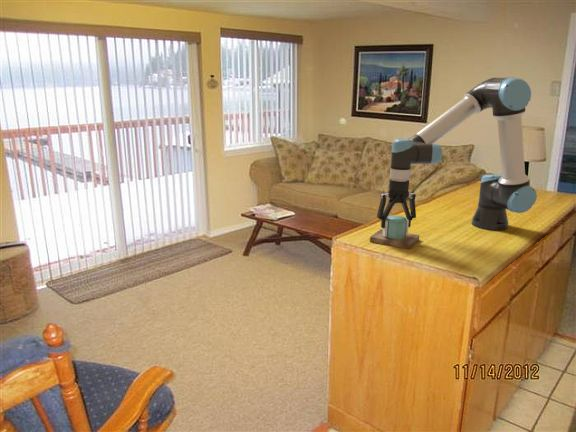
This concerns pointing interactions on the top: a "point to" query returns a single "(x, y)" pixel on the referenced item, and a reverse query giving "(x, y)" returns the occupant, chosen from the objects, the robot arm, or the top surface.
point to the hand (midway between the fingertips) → (394, 235)
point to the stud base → (395, 240)
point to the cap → (396, 227)
